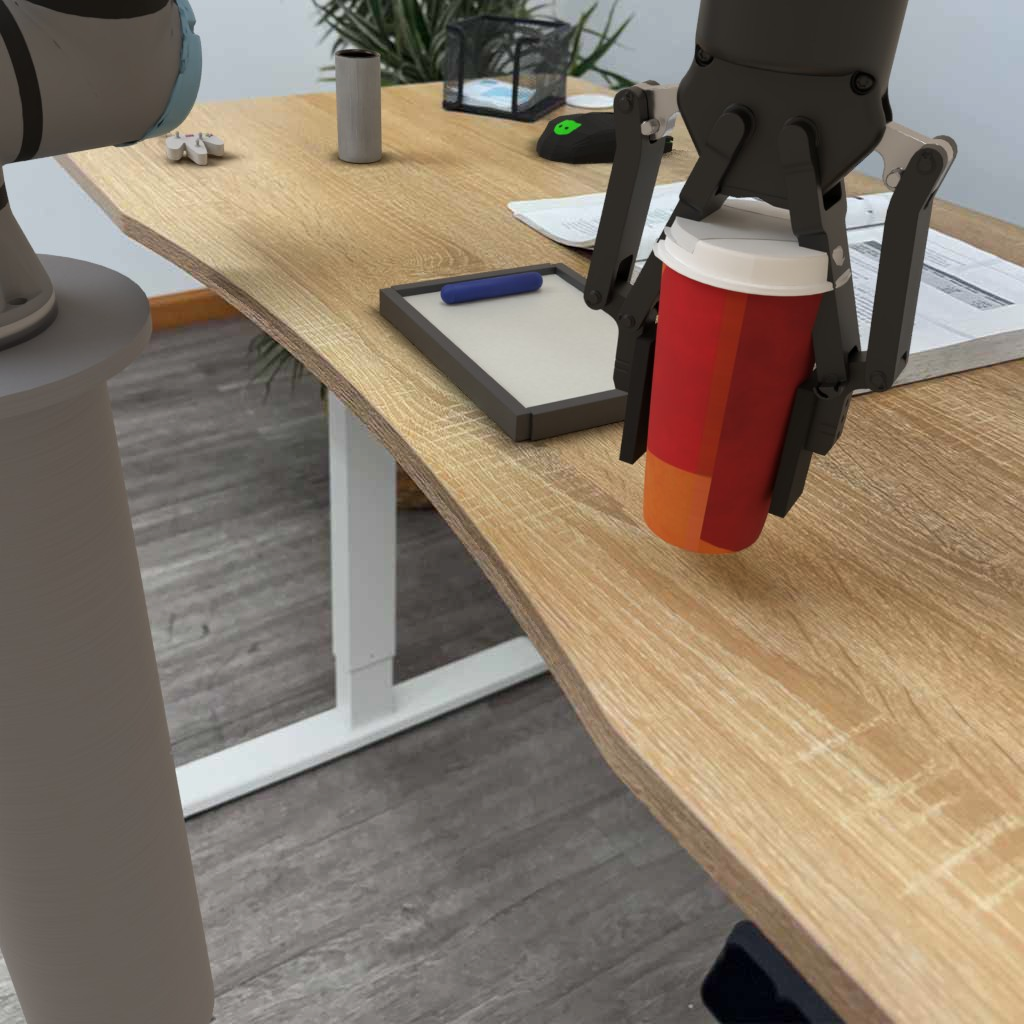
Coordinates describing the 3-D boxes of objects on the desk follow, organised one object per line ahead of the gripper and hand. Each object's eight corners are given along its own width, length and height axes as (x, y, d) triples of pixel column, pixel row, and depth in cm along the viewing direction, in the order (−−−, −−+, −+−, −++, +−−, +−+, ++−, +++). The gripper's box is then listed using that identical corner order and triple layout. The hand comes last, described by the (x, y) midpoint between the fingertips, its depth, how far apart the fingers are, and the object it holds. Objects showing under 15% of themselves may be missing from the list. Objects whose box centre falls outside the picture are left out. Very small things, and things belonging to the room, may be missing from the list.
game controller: (188, 169, 105) (184, 142, 104) (120, 146, 111) (116, 120, 110) (234, 158, 109) (231, 132, 108) (166, 137, 115) (163, 111, 113)
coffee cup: (786, 491, 56) (855, 208, 47) (783, 583, 49) (863, 273, 41) (628, 464, 57) (668, 185, 49) (604, 550, 50) (646, 243, 42)
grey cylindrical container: (348, 165, 109) (345, 58, 104) (331, 153, 112) (327, 49, 107) (388, 161, 111) (387, 56, 106) (371, 150, 114) (369, 47, 109)
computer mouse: (508, 143, 120) (510, 106, 117) (614, 127, 128) (618, 92, 126) (574, 169, 112) (578, 130, 110) (682, 150, 121) (687, 113, 119)
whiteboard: (377, 310, 79) (377, 276, 77) (558, 282, 85) (561, 250, 84) (517, 444, 63) (520, 405, 62) (725, 397, 70) (731, 361, 68)
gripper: (1121, -30, 37) (935, 510, 50) (615, -90, 45) (567, 388, 58) (1094, -10, 32) (894, 590, 45) (526, -82, 40) (494, 443, 53)
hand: (709, 475), depth 51 cm, fingers closed on coffee cup, 7 cm apart
